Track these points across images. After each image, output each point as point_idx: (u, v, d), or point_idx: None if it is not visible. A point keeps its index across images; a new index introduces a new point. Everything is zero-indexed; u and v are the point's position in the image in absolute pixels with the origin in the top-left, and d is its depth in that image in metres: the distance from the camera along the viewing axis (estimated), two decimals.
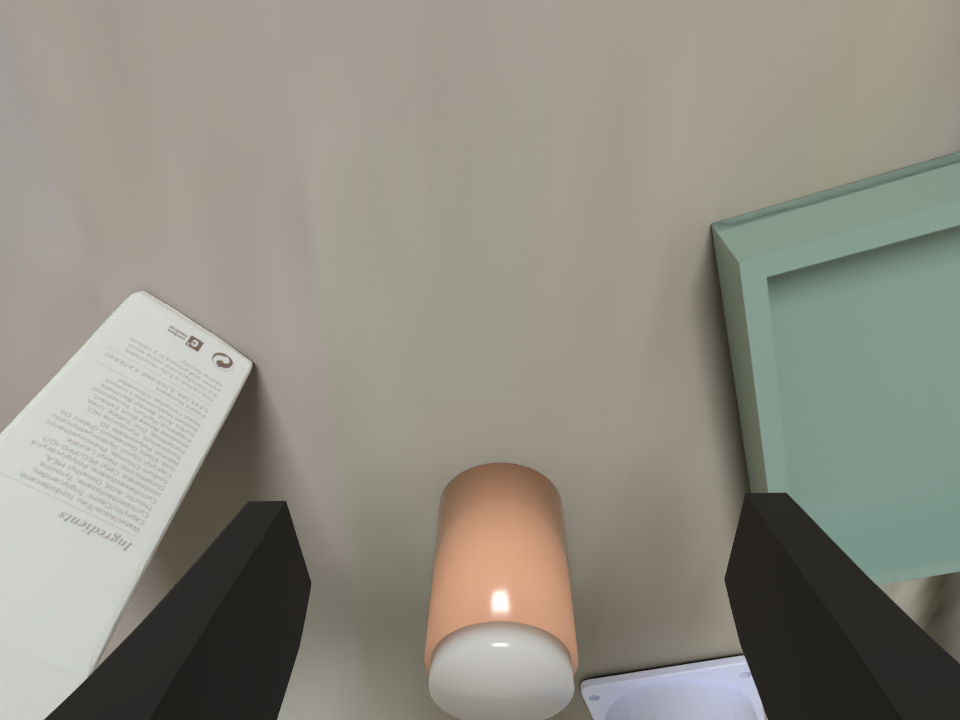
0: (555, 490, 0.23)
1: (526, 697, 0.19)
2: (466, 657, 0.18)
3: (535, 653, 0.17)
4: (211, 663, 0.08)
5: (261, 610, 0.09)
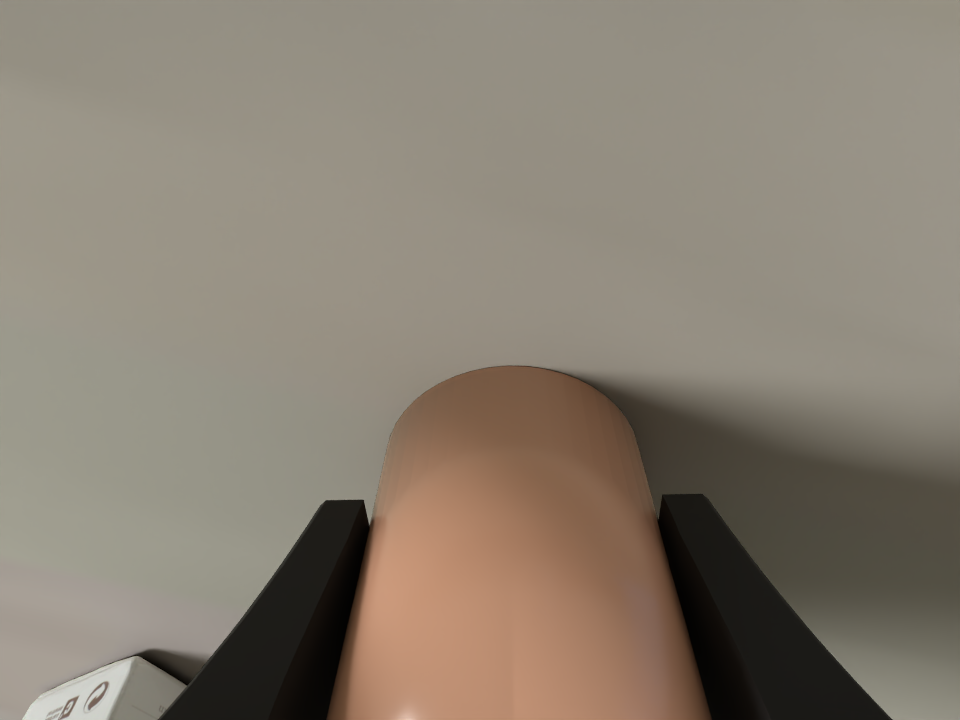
0: (480, 375, 0.10)
1: None
2: None
3: None
4: (311, 663, 0.08)
5: (347, 609, 0.09)
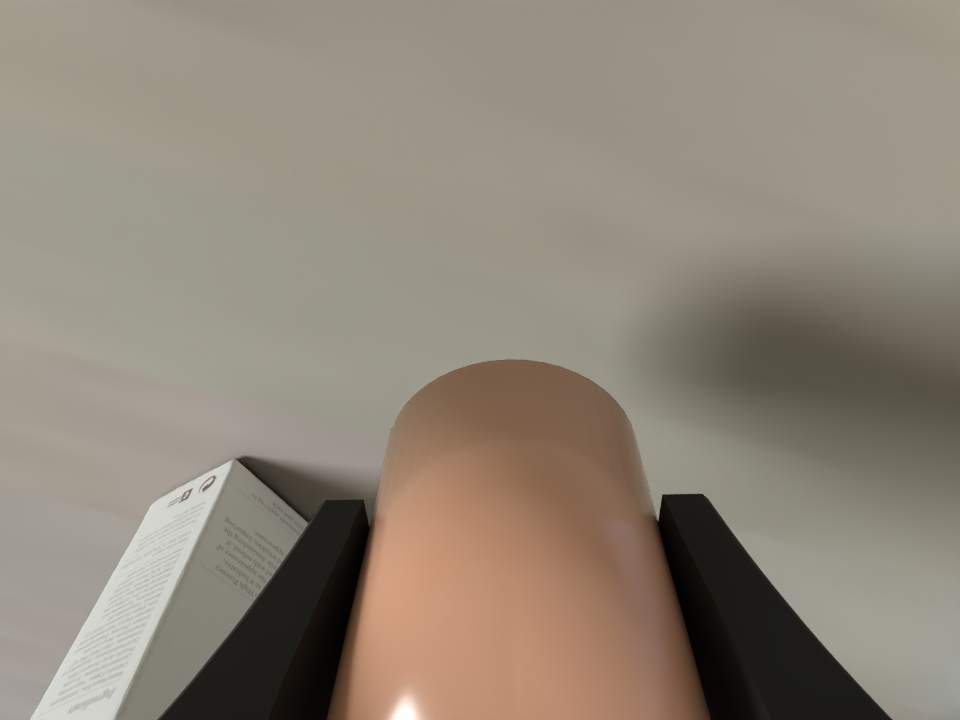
0: (480, 368, 0.10)
1: None
2: None
3: None
4: (310, 663, 0.08)
5: (346, 609, 0.09)
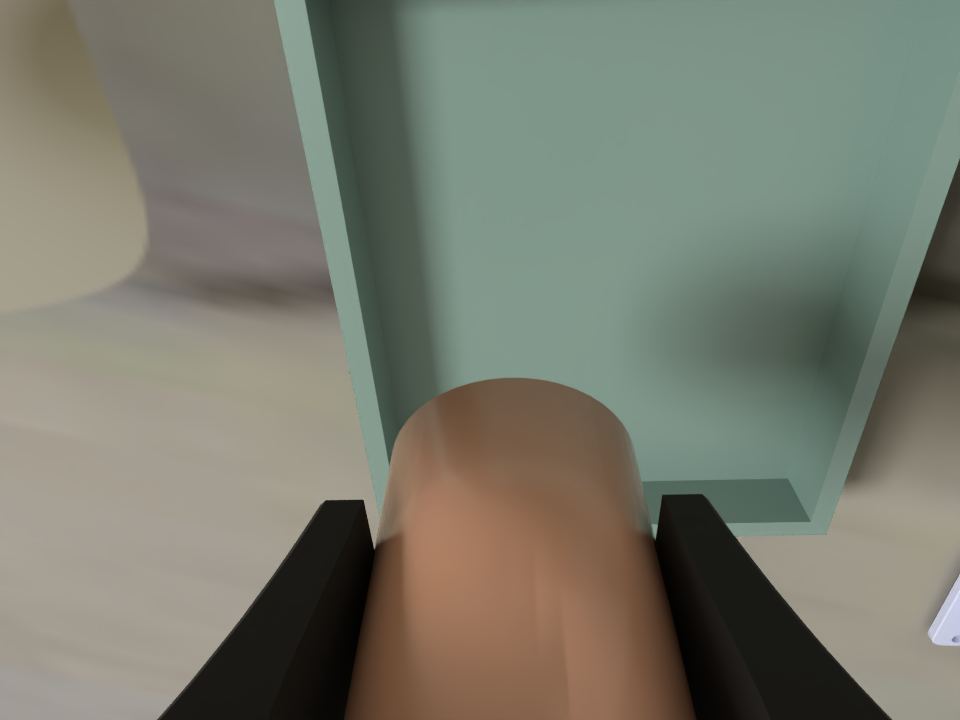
0: (480, 388, 0.11)
1: None
2: None
3: None
4: (310, 663, 0.08)
5: (346, 609, 0.09)
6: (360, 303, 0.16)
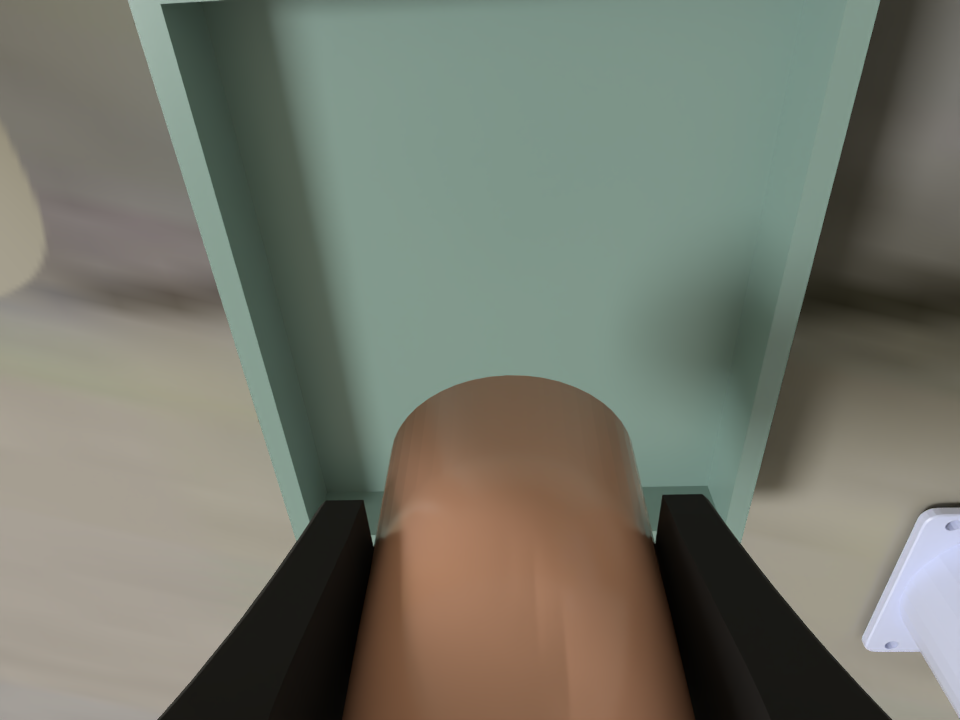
0: (480, 385, 0.11)
1: None
2: None
3: None
4: (310, 663, 0.08)
5: (347, 609, 0.09)
6: (249, 310, 0.16)
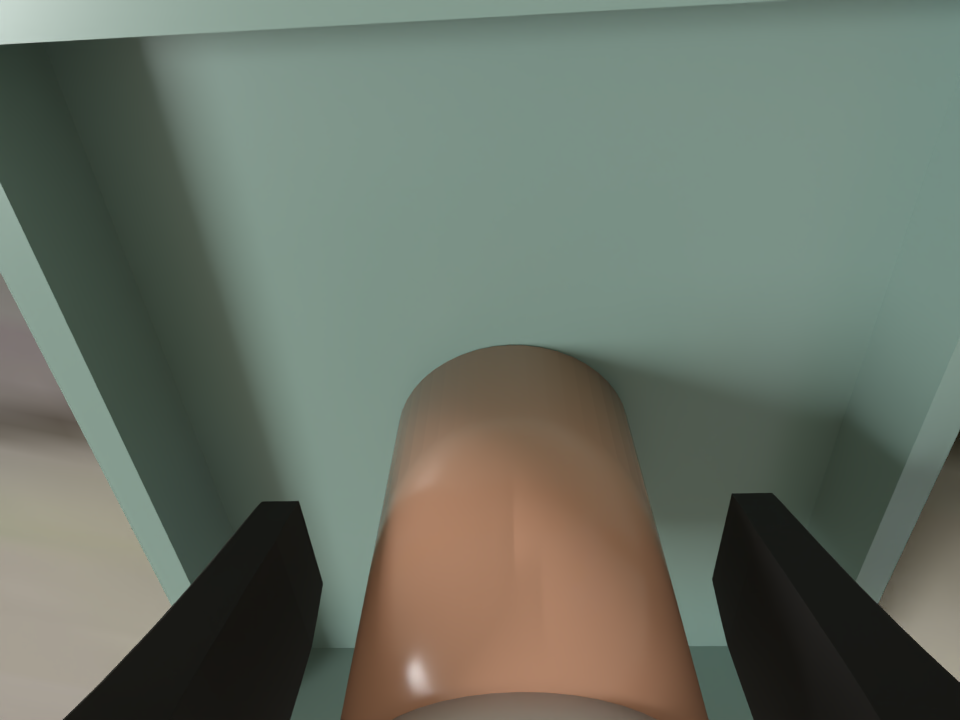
0: (483, 354, 0.11)
1: None
2: None
3: None
4: (227, 663, 0.08)
5: (275, 610, 0.09)
6: (140, 473, 0.11)
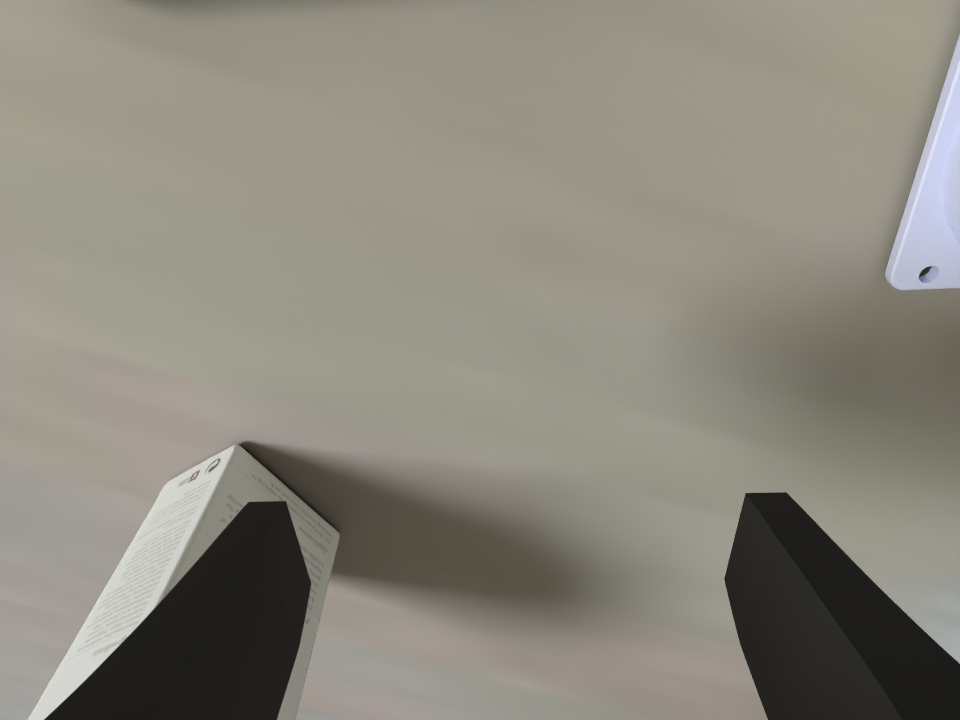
0: None
1: None
2: None
3: None
4: (211, 663, 0.08)
5: (261, 610, 0.09)
6: None
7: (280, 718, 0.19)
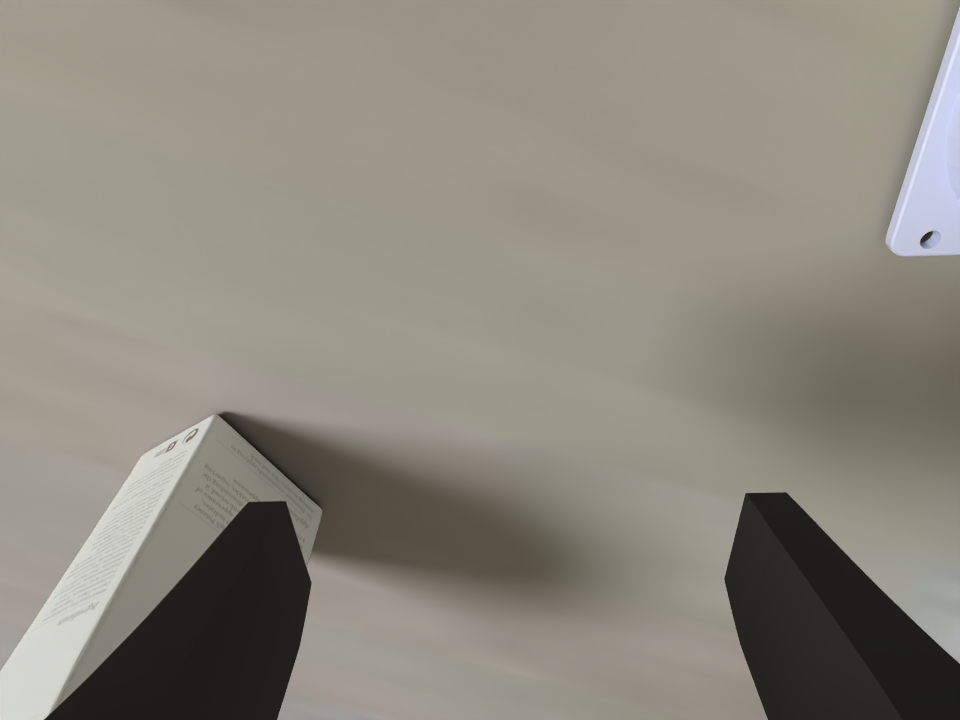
0: None
1: None
2: None
3: None
4: (211, 663, 0.08)
5: (261, 610, 0.09)
6: None
7: None
